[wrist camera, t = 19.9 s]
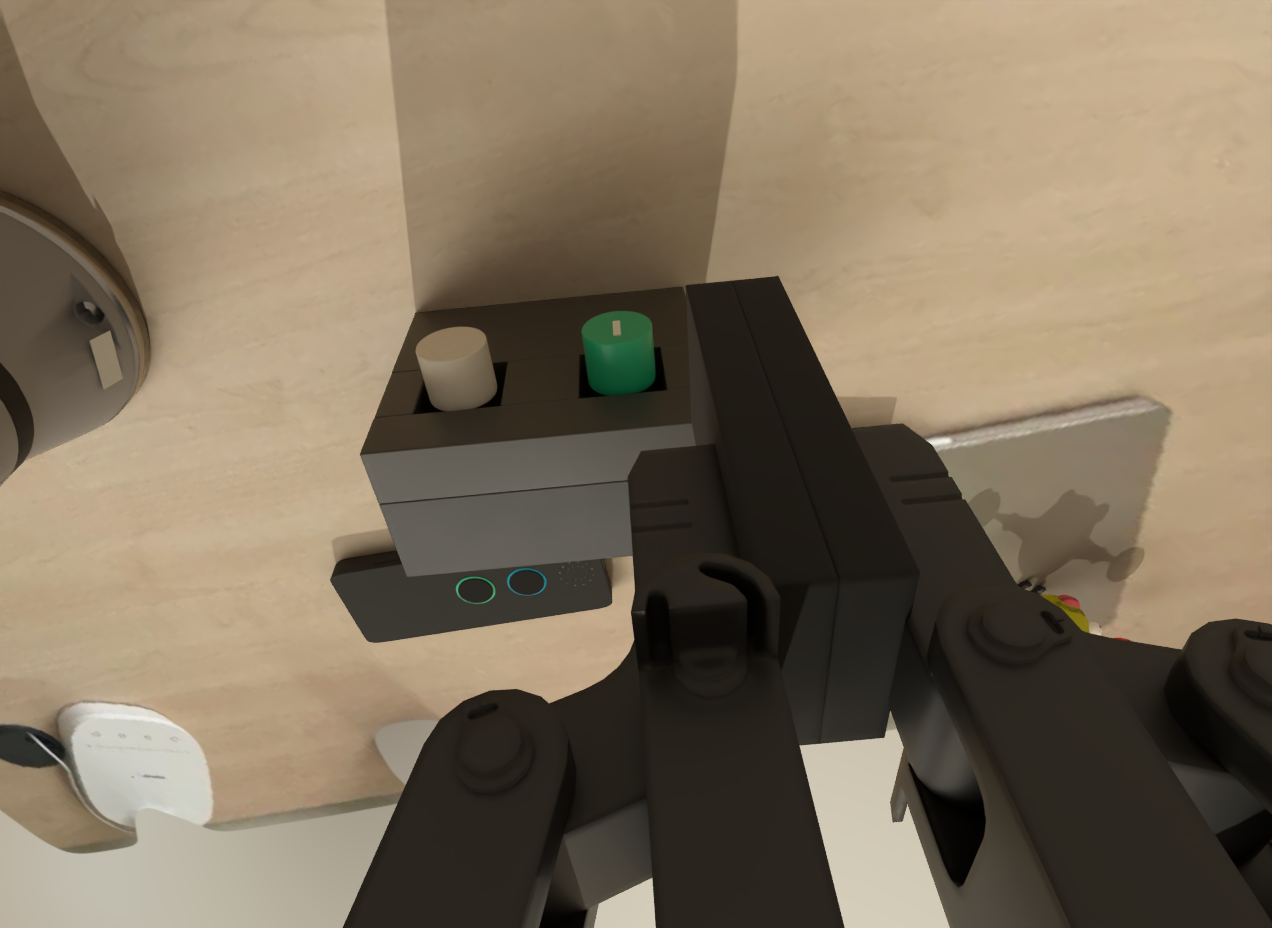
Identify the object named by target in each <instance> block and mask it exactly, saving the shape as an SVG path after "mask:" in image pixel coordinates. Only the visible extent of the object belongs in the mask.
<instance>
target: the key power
mask: <svg viewBox="0 0 1272 928" xmlns="http://www.w3.org/2000/svg"><path fill="white" fill-rule="evenodd" d="M582 339H583V346H584V353H585V360H586V367H587V374H588V382H589V385H590V386H591V388H592V389H593V390H595V391H596V392H598V393H600V394H603V395H607V396H612V395H622V394H633V393H639V392H641V391H644V390H645V389H647V388H648V387H650V386H651V385H652V384H653V382H654V380H655V377H656V371H655V357H654V344H653V331H652V323H651V321H650V319H649V318H647V317H646V316H644V315H642V314H640V313H636V312H631V311H614V312H608V313H604V314H601V315H598V316H595V317H593V318H591V319H590V320H588V321H587V322H586V323H585V324H584V326H583V328H582Z"/></svg>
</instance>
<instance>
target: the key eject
mask: <svg viewBox="0 0 1272 928" xmlns="http://www.w3.org/2000/svg"><path fill="white" fill-rule="evenodd" d="M416 355H417V358H418V362H419V365H420V368H421V372H422V375H423V379H424V382H425V385H426V389H427V392H428V395H429V399H430V402H431V404H432V405H433V406H434V407H435V408H437V409H439V410H442V411H456V410H466V409H475V408H477V407H480V406H482V405H484V404H485V403H487V402H488V401H490V400H491V399H492V398H493V397H494V396H495V394H496V392H497V382H496V378H495V373H494V369H493V365H492V360H491V356H490V352H489V347H488V343H487V338H486V336H485V334H484V333H483V332H482V331H480V330H478V329H476V328H472V327H452V328H447V329H443V330H439V331H437V332H434V333H432V334H430V335H428V336H426V337H425V338H423V339H422V340H421V341H420V342H419V343H418V345H417V347H416Z"/></svg>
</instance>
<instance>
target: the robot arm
mask: <svg viewBox="0 0 1272 928" xmlns="http://www.w3.org/2000/svg"><path fill="white" fill-rule="evenodd" d="M686 303H687V326H688V349H689V373H690V396H691V419H692V428H693V433H694V438H695V443H696V446H688V447H677V448H667V449H656V450H646V451H641V452H640V454H639V456H638V458H637V460H636V462H635V463H634V465H633V467H632V469H631V471H630V473H629V475H628V491H629V505H630V521H631V533H632V534H631V536H632V551H633V565H634V580H635V594H634V600H633V605H632V610H631V616H632V624H633V632H634V639H635V640H634V642H633V645H632V647H631V650H630V652H629V654H628V655H627V656H626V658H625V659H624V660H623V662H622V663H621V664H620V666H619V667H618V668H617V669H615V670H614V671H613V672H612V673H611V674H609V675H608V676H607V677H606V678H605V679H603V680H601V681H600V682H598V683H596V684H594V685H592V686H590V687H588V688H586V689H584V690H582V691H579V692H577V693H574V694H572V695H569V696H567V697H564V698H562V699H559V700H557V701H554V702H552V703H548V702H547V701H545V700H544V699H543V698H542V697H541V696H537V695H534V694H531V693H528V692H525V691H521V690H518V689H510V690H493V691H488V692H485V693H483V694H480V695H478V696H475V697H473V698H470V699H467V700H465V701H463V702H462V703H460V704H459V705H458V706H457V707H455V708H454V709H453V710H451V711H450V712H449V713H448V714H446V715H445V716H444V717H443V718H441V719H440V721H439V722H438V724H437V725H436V727H435V728H434V730H433V731H432V733H431V734H430V736H429V737H428V739H427V740H426V742H425V743H424V745H423V747H422V750H421V752H420V754H419V757H418V759H417V761H416V763H415V766H414V768H413V770H412V772H411V775H410V777H409V779H408V781H407V784H406V786H405V788H404V790H403V793H402V795H401V797H400V799H399V802H398V804H397V806H396V808H395V811H394V813H393V815H392V817H391V820H390V822H389V824H388V826H387V829H386V831H385V833H384V836H383V838H382V840H381V842H380V845H379V847H378V849H377V851H376V854H375V856H374V858H373V860H372V863H371V865H370V867H369V869H368V872H367V874H366V876H365V878H364V881H363V883H362V885H361V888H360V890H359V892H358V894H357V897H356V899H355V901H354V904H353V906H352V908H351V910H350V912H349V915H348V917H347V919H346V921H345V924H344V926H343V928H594V923H595V919H596V914H597V909H598V904H599V903H601V902H603V901H605V900H607V899H609V898H611V897H613V896H615V895H617V894H619V893H621V892H623V891H625V890H628V889H630V888H632V887H634V886H636V885H638V884H640V883H642V882H644V881H646V880H648V879H650V878H652V877H653V892H654V906H655V921H656V928H844V924H843V920H842V916H841V912H840V908H839V904H838V900H837V896H836V892H835V888H834V884H833V880H832V875H831V871H830V868H829V863H828V859H827V855H826V851H825V847H824V844H823V839H822V835H821V831H820V827H819V823H818V819H817V815H816V811H815V807H814V803H813V799H812V795H811V791H810V787H809V783H808V779H807V774H806V771H805V766H804V763H803V759H802V754H801V750H800V747H799V745H809V744H821V743H832V742H842V741H853V740H864V739H875V738H884V737H885V732H886V727H887V723H888V718H889V714H890V711H891V713H892V716H893V719H894V721H895V724H896V727H897V730H898V732H899V735H900V738H901V741H902V743H903V746H904V749H903V753H902V757H901V761H900V765H899V769H898V773H897V777H896V781H895V786H894V789H893V793H892V797H891V801H890V804H891V812H892V821H893V822H902V821H903V818H904V814H905V811H906V807H907V804H908V807H909V809H910V813H911V815H912V818H913V821H914V824H915V827H916V830H917V833H918V836H919V839H920V842H921V844H922V847H923V850H924V853H925V856H926V859H927V862H928V865H929V868H930V871H931V874H932V877H933V879H934V882H935V885H936V888H937V891H938V894H939V897H940V900H941V903H942V906H943V909H944V912H945V915H946V917H947V920H948V923H949V926H950V928H1272V625H1271V624H1268V623H1261V622H1255V621H1248V620H1242V619H1229V620H1221V621H1214V622H1208V623H1207V624H1205V625H1204V626H1202V627H1201V628H1199V629H1198V630H1196V631H1195V632H1193V633H1191V635H1190V637H1189V638H1188V640H1187V642H1186V644H1185V645H1184V647H1183V649H1182V650H1181V649H1175V648H1168V647H1162V646H1156V645H1150V644H1144V643H1138V642H1132V641H1126V640H1120V639H1113V638H1108V637H1104V636H1100V635H1096V634H1092V633H1088V632H1085V631H1082V630H1081V629H1080V628H1079V627H1078V625H1077V624H1076V623H1075V622H1074V621H1073V620H1072V619H1071V618H1070V617H1069V616H1068V615H1067V614H1066V613H1065V611H1064V610H1063V609H1062V608H1060V607H1058V606H1057V605H1055V604H1053V603H1052V602H1050V601H1048V600H1047V599H1045V598H1044V597H1042V596H1040V595H1039V594H1037V593H1034V592H1031V591H1028V590H1024V589H1021V588H1019V586H1018V585H1017V584H1016V582H1015V581H1014V579H1013V577H1012V576H1011V574H1010V572H1009V571H1008V569H1007V567H1006V566H1005V564H1004V563H1003V561H1002V559H1001V558H1000V556H999V554H998V553H997V551H996V549H995V548H994V546H993V544H992V543H991V541H990V540H989V538H988V536H987V535H986V533H985V531H984V530H983V528H982V526H981V525H980V523H979V521H978V520H977V518H976V516H975V515H974V513H973V512H972V510H971V508H970V507H969V505H968V503H967V502H966V500H965V499H964V500H962V493H961V492H960V490H959V489H958V487H957V485H956V484H955V482H954V480H953V479H952V477H949V476H948V470H947V469H946V467H945V465H944V464H943V462H942V461H941V459H940V457H939V456H938V454H937V452H936V451H935V449H934V447H933V446H932V445H931V444H930V443H929V442H927V441H926V440H925V439H923V438H922V437H920V436H919V435H918V434H916V433H915V432H914V431H912V430H911V429H909V428H908V427H907V426H905V425H904V424H892V425H882V426H871V427H861V428H851V427H850V425H849V423H848V420H847V418H846V416H845V414H844V412H843V410H842V408H841V406H840V404H839V402H838V400H837V398H836V395H835V393H834V391H833V389H832V387H831V385H830V383H829V381H828V379H827V377H826V375H825V372H824V370H823V368H822V366H821V364H820V362H819V360H818V358H817V356H816V354H815V352H814V350H813V347H812V345H811V343H810V341H809V339H808V337H807V335H806V333H805V331H804V329H803V327H802V325H801V322H800V320H799V318H798V316H797V314H796V312H795V310H794V308H793V306H792V304H791V302H790V300H789V297H788V295H787V293H786V291H785V289H784V287H783V285H782V283H781V281H780V279H779V277H778V276H776V277H766V278H755V279H745V280H735V281H724V282H714V283H704V284H694V285H686ZM149 359H150V346H149V338H148V333H147V329H146V325H145V322H144V319H143V317H142V314H141V312H140V309H139V307H138V305H137V303H136V301H135V299H134V298H133V296H132V294H131V292H130V291H129V289H128V288H127V286H126V285H125V283H124V282H123V280H122V279H121V278H120V276H119V275H118V274H117V273H116V271H115V270H114V269H113V268H112V266H111V265H110V264H109V263H108V262H107V261H106V260H105V259H104V258H103V257H102V256H101V255H100V254H99V253H98V252H97V251H96V250H95V249H94V248H93V247H92V246H91V245H90V244H89V243H87V242H86V241H85V240H84V239H83V238H81V237H80V236H79V235H78V234H77V233H75V232H74V231H73V230H71V229H70V228H68V227H67V226H66V225H64V224H63V223H61V222H60V221H58V220H57V219H55V218H54V217H52V216H50V215H49V214H47V213H46V212H44V211H42V210H40V209H38V208H36V207H34V206H33V205H31V204H29V203H27V202H24V201H22V200H20V199H18V198H16V197H14V196H11V195H8V194H6V193H3V192H1V191H0V486H1V485H2V484H3V483H4V482H5V481H6V480H7V479H8V477H9V476H10V475H11V474H12V473H13V472H14V471H15V470H16V469H17V468H18V467H19V466H20V465H21V464H22V463H23V462H24V461H25V460H27V459H30V458H32V457H34V456H36V455H39V454H41V453H43V452H45V451H48V450H50V449H52V448H54V447H57V446H59V445H61V444H63V443H66V442H68V441H70V440H72V439H75V438H77V437H79V436H81V435H83V434H86V433H88V432H90V431H92V430H94V429H96V428H98V427H101V426H103V425H104V424H106V423H107V422H109V421H110V420H112V419H113V418H114V417H115V416H116V415H118V414H119V412H120V411H121V410H122V409H123V408H124V407H125V406H126V405H127V403H128V402H129V401H130V400H131V399H132V398H133V397H134V395H135V394H136V393H137V392H138V390H139V389H140V387H141V386H142V384H143V382H144V379H145V377H146V374H147V371H148V366H149Z"/></svg>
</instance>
